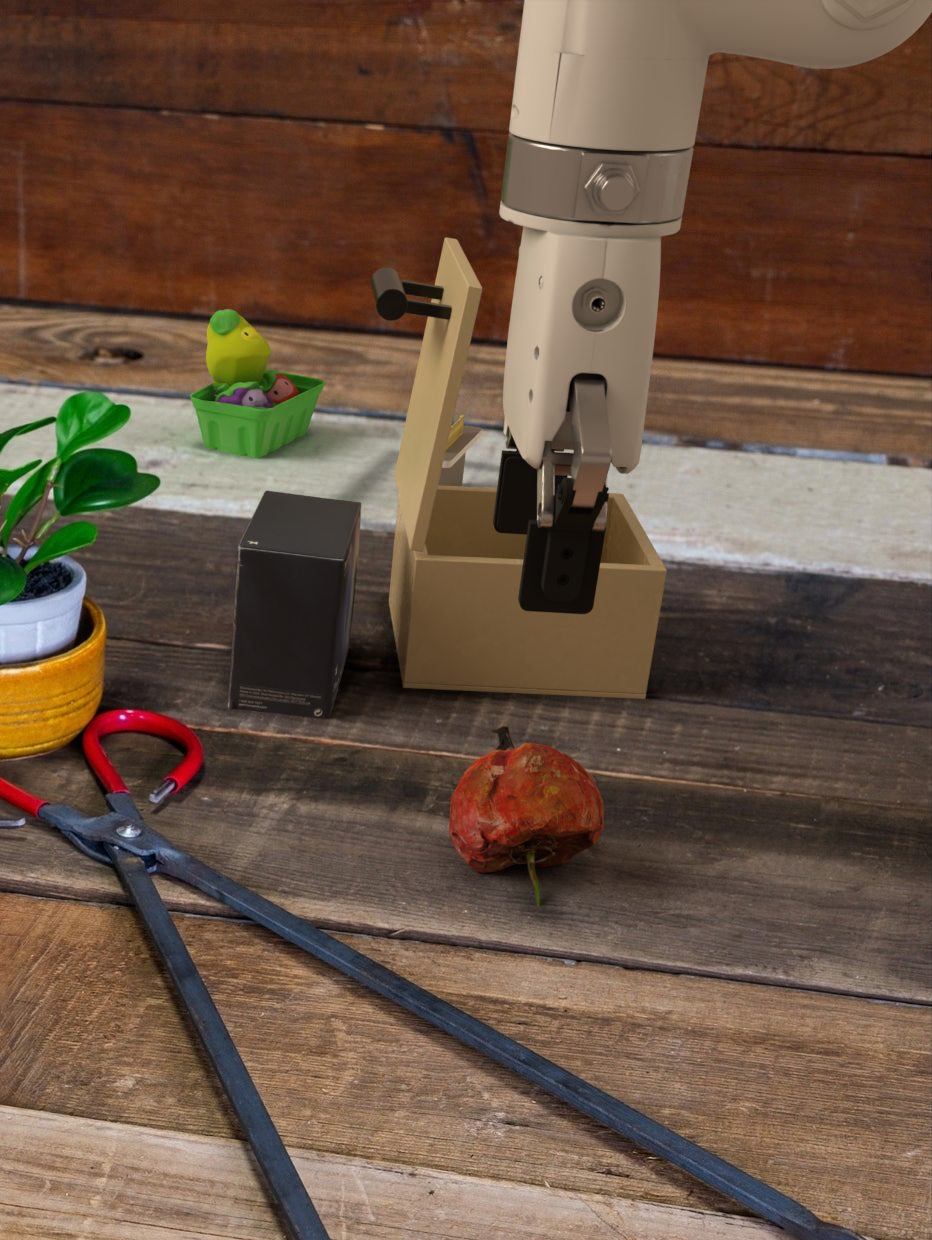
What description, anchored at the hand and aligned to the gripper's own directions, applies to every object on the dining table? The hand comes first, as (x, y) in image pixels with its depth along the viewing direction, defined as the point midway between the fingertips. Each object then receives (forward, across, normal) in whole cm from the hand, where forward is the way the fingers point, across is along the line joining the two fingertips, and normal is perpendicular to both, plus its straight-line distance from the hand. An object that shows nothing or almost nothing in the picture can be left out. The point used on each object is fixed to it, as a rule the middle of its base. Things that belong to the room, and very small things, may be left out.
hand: (539, 569), depth 78 cm
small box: (+16, +20, +10) cm, 27 cm away
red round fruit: (+16, -2, -1) cm, 16 cm away
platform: (+16, +54, -2) cm, 57 cm away
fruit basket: (+16, +68, +14) cm, 71 cm away
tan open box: (+16, +26, -4) cm, 30 cm away
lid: (-1, +25, +2) cm, 26 cm away
